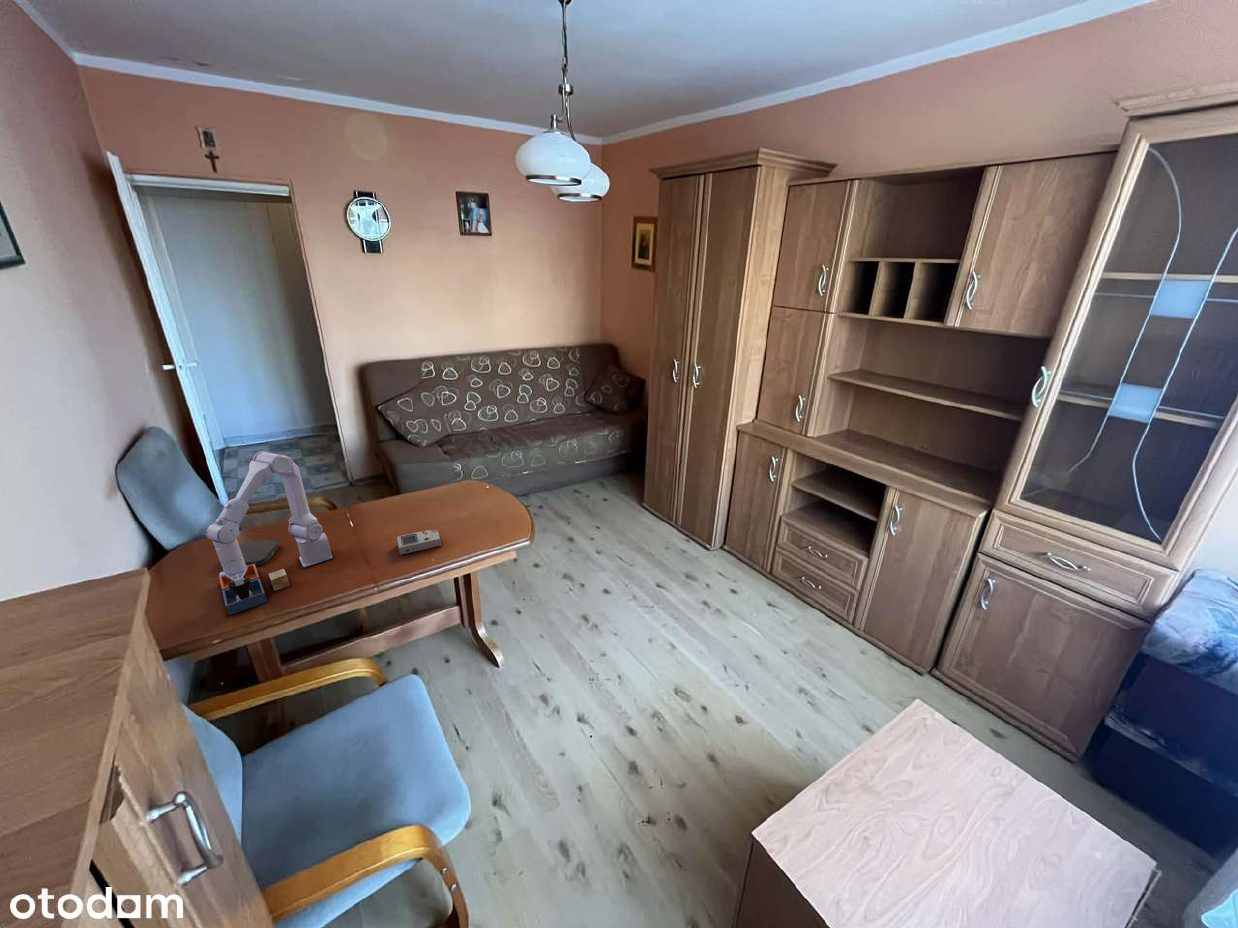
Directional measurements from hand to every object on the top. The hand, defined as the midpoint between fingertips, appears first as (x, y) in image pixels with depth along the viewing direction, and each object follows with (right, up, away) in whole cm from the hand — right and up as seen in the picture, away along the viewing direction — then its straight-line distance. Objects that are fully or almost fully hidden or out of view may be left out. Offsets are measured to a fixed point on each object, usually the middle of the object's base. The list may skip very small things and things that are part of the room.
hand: (243, 593), depth 162 cm
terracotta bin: (-7, +1, +9) cm, 11 cm away
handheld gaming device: (+44, +10, +32) cm, 55 cm away
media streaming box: (-15, +7, +24) cm, 29 cm away
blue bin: (0, -3, +1) cm, 3 cm away
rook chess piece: (0, -2, +1) cm, 3 cm away
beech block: (+6, 0, +9) cm, 11 cm away
